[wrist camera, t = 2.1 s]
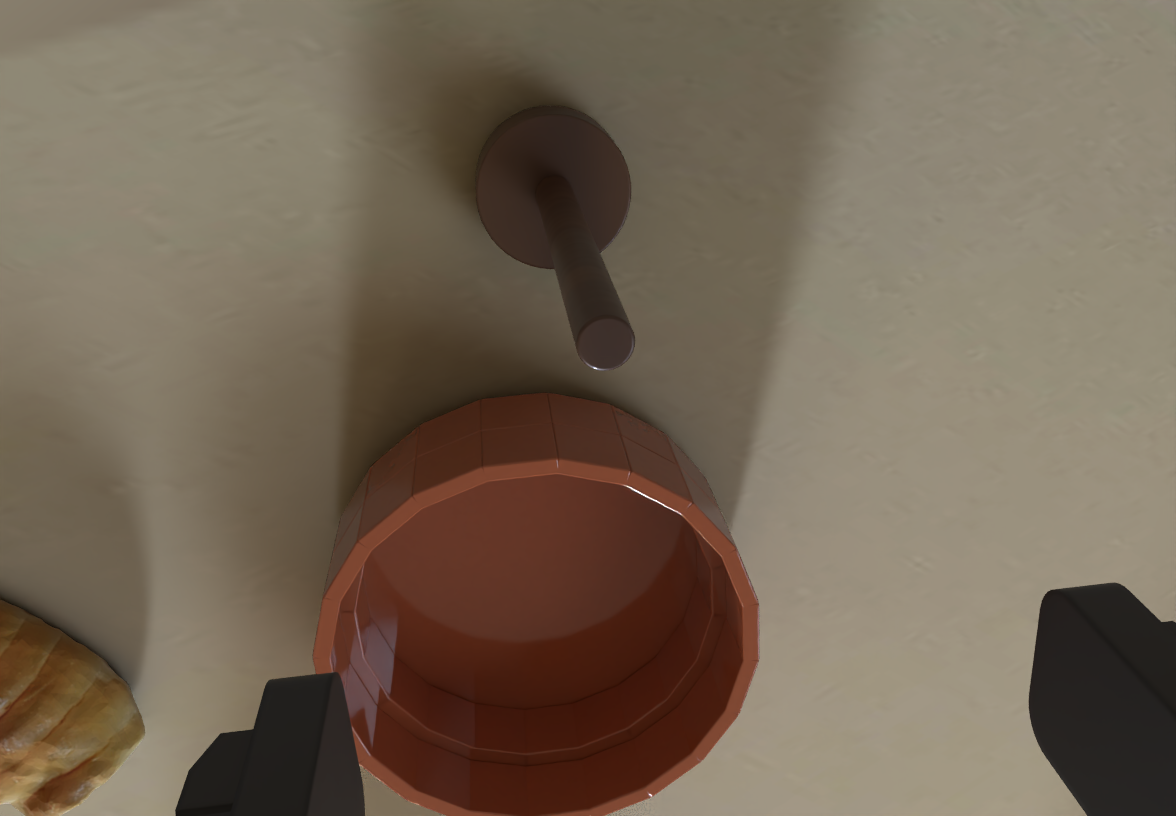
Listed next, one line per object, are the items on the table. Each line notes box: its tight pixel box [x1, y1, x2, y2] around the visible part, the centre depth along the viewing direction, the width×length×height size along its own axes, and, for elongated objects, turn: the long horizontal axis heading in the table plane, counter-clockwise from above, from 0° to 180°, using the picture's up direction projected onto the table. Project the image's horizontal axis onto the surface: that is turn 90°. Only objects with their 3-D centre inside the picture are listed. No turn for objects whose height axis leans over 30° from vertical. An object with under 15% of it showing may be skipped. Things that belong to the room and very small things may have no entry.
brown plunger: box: [476, 106, 635, 370], centre depth 28 cm, size 5×5×16 cm
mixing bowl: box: [313, 392, 759, 816], centre depth 39 cm, size 15×15×6 cm
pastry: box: [0, 600, 145, 816], centre depth 40 cm, size 9×7×4 cm
